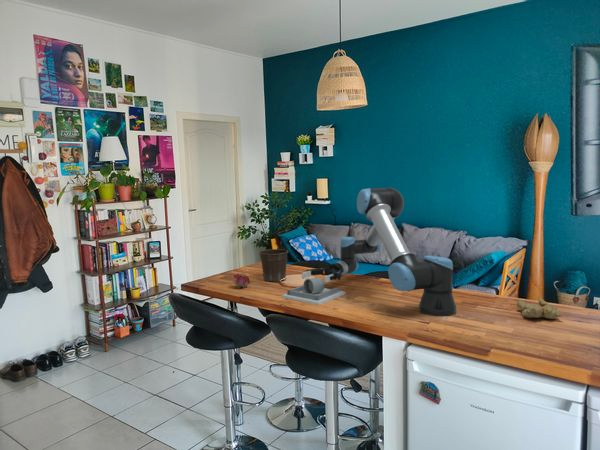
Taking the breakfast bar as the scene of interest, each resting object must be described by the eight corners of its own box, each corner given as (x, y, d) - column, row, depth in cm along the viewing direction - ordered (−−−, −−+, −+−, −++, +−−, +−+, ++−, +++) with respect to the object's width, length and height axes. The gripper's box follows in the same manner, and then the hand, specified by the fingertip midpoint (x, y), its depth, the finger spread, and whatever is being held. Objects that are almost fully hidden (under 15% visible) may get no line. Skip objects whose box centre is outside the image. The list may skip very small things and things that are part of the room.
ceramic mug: (326, 292, 218) (325, 277, 217) (313, 296, 212) (313, 280, 212) (311, 289, 226) (310, 274, 225) (299, 292, 220) (298, 276, 219)
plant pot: (254, 279, 252) (253, 251, 250) (276, 275, 263) (275, 247, 261) (272, 284, 240) (271, 255, 238) (294, 279, 251) (294, 251, 249)
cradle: (345, 294, 219) (345, 287, 219) (318, 305, 202) (318, 298, 202) (309, 287, 233) (309, 281, 233) (281, 297, 216) (281, 290, 215)
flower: (245, 287, 228) (250, 273, 232) (228, 284, 229) (233, 269, 233) (248, 294, 237) (252, 280, 240) (231, 290, 238) (236, 276, 241)
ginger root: (565, 322, 169) (560, 302, 169) (519, 327, 176) (514, 307, 176) (562, 312, 183) (557, 293, 183) (519, 316, 190) (515, 298, 190)
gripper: (358, 279, 226) (335, 289, 210) (318, 273, 242) (293, 281, 225) (358, 265, 225) (335, 273, 209) (318, 259, 241) (293, 267, 224)
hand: (313, 277), depth 217 cm, fingers open, 13 cm apart
